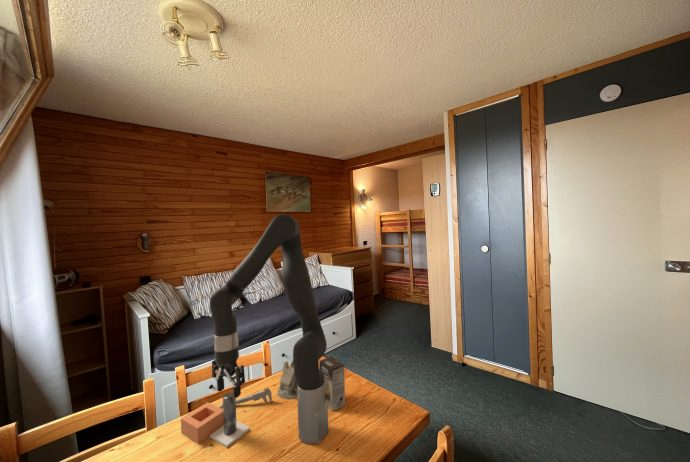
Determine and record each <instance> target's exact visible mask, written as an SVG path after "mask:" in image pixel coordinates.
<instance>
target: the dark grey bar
mask: <svg viewBox="0 0 690 462" xmlns="http://www.w3.org/2000/svg"><path fill="white" fill-rule="evenodd" d="M236 400H237V398H234V395H233V392H227V393H225V394H224V395H223V396H222V404H223V408H222V409H223V419H224V434H225V435H232V434H233V433H235V432H236V430H237V425H236V421H237V406H236Z"/></svg>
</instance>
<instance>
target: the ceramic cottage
mask: <svg viewBox="0 0 690 462" xmlns="http://www.w3.org/2000/svg"><path fill="white" fill-rule="evenodd" d="M278 383H280V384H279V386H278V388H277V392H276V393H277V396H278V397H279V398H281V399H284V400H293V399H297V380H296V378H295V374H294V364H293V360H292V361H291V363H290V366H289V361H287V360H284V362H283V367H282V375H281V376H280V379H279V381H278Z"/></svg>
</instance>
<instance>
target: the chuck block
mask: <svg viewBox="0 0 690 462" xmlns="http://www.w3.org/2000/svg"><path fill="white" fill-rule="evenodd" d="M223 425H224V419H223V408H219V406H216V405H214V404H213V403H211V402H208V401H207V402H206V403H205V404H203V405H201V406H199V407H197V408H196V409H194V410H192V411H191V412H189V413H187V414H185V415H183V416H182V417H181V418H180V432H181V434H182V435H184V436H185V437H187V438H188V439H190V440H191V441H193V442H194V443H196V444H199V443H201V442H203V441H204V440H205V439H207V438H208V437H210V435H211V434H212V433H214V432H215V431H216V430H218V429H219V428H221V427H222V426H223Z"/></svg>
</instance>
